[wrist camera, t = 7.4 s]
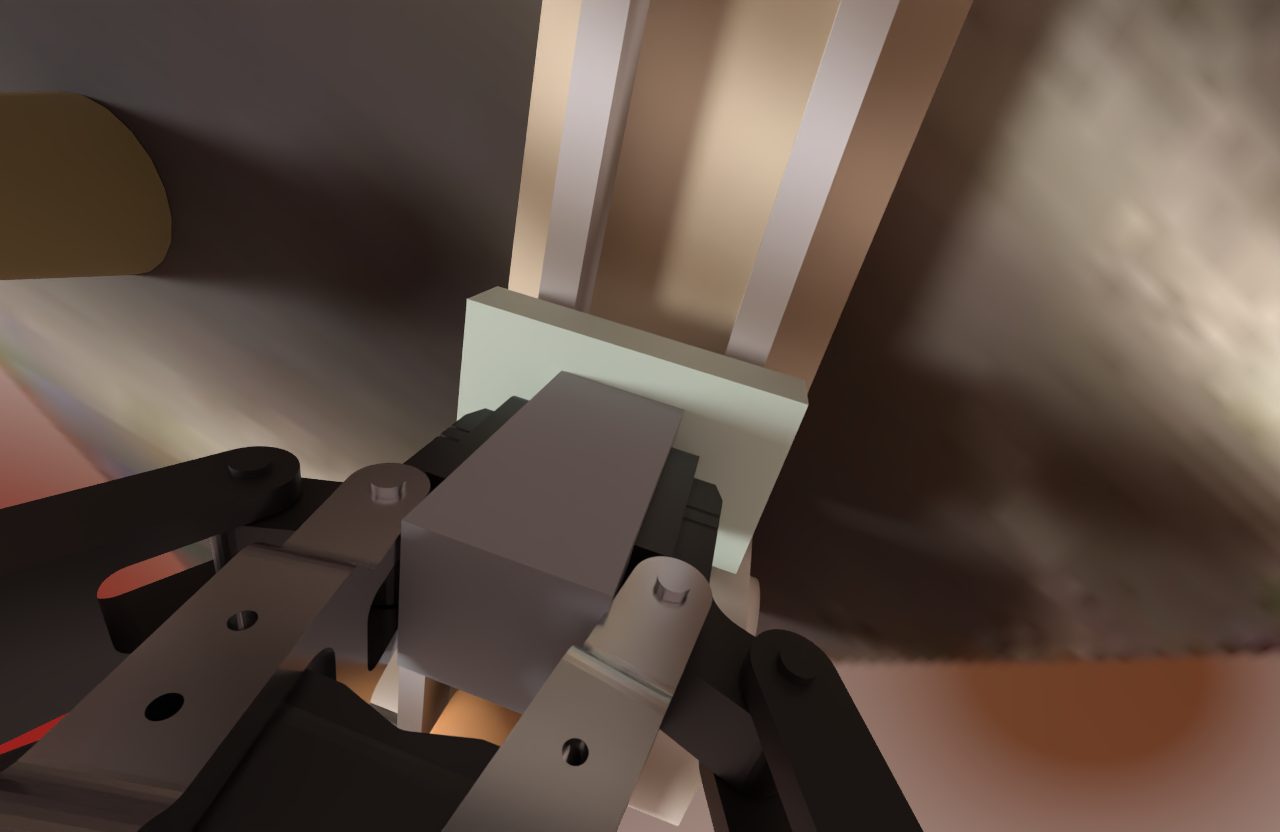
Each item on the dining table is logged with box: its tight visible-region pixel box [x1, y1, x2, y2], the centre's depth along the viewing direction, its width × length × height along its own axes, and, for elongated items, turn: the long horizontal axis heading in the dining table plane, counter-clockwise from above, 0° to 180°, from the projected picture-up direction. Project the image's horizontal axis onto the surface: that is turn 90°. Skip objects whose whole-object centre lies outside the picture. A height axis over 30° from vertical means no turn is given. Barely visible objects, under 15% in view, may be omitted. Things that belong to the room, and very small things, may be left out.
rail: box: [370, 0, 974, 826], centre depth 11 cm, size 25×10×9 cm, turn 166°
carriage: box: [397, 286, 809, 714], centre depth 11 cm, size 5×8×8 cm, turn 76°
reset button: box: [430, 689, 523, 746], centre depth 12 cm, size 3×3×2 cm
